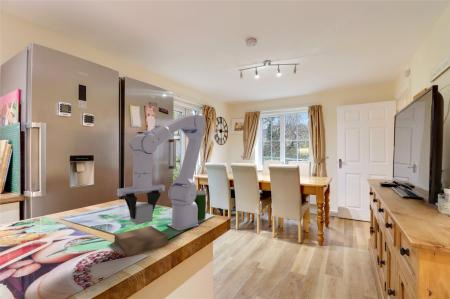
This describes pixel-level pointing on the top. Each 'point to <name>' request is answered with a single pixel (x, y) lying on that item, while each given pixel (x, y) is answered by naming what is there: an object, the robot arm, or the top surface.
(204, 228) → the top surface
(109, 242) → the top surface
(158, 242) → the walnut slab
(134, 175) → the robot arm
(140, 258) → the top surface
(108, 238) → the top surface
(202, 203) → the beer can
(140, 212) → the grey cube
